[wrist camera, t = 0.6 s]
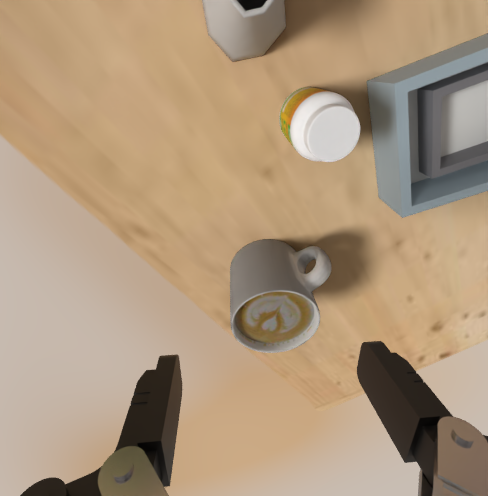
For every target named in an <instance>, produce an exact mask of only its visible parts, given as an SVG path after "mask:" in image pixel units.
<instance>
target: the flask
mask: <svg viewBox="0 0 488 496" xmlns="http://www.w3.org/2000/svg"><path fill="white" fill-rule="evenodd" d="M202 3H203V9H204V14H205V19H206V24H207V30H208V35H209V36H210V37H211V38H212V39H213V41H214V42H215V43H216V44H217V45H218V46H219V47H220V48H221V50H222V51H223V52H224V53H225V54H226V55H227V56H228V57H229V58H230V60H231V61H232V62H234V61H239V60H243V59H248V58H253V57H258V56H263V55H264V54H265V52H266V51H267V50H268V49H269V48H270V46H271V45H272V44H273V43H274V41H275V40H276V39H277V38H278V37H279V35H280V34H281V33H282V32H283V30H284V29H285V28H286V18H285V4H284V0H202Z"/></svg>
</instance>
